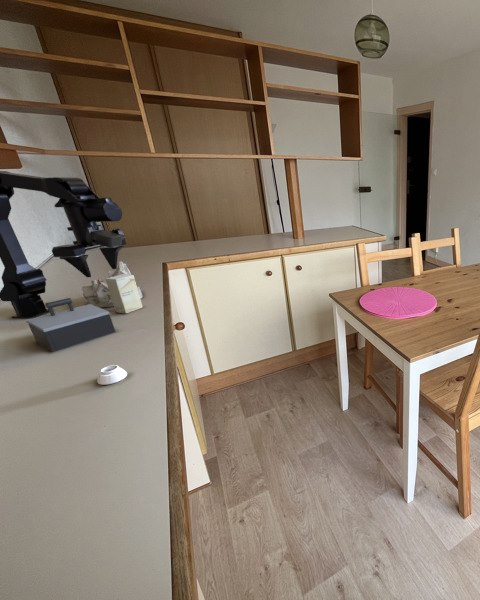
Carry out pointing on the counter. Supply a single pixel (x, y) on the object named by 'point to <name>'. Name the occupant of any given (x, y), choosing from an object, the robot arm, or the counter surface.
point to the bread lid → (65, 315)
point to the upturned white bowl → (111, 375)
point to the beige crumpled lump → (104, 289)
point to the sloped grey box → (73, 333)
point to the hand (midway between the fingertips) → (102, 272)
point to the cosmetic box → (124, 293)
